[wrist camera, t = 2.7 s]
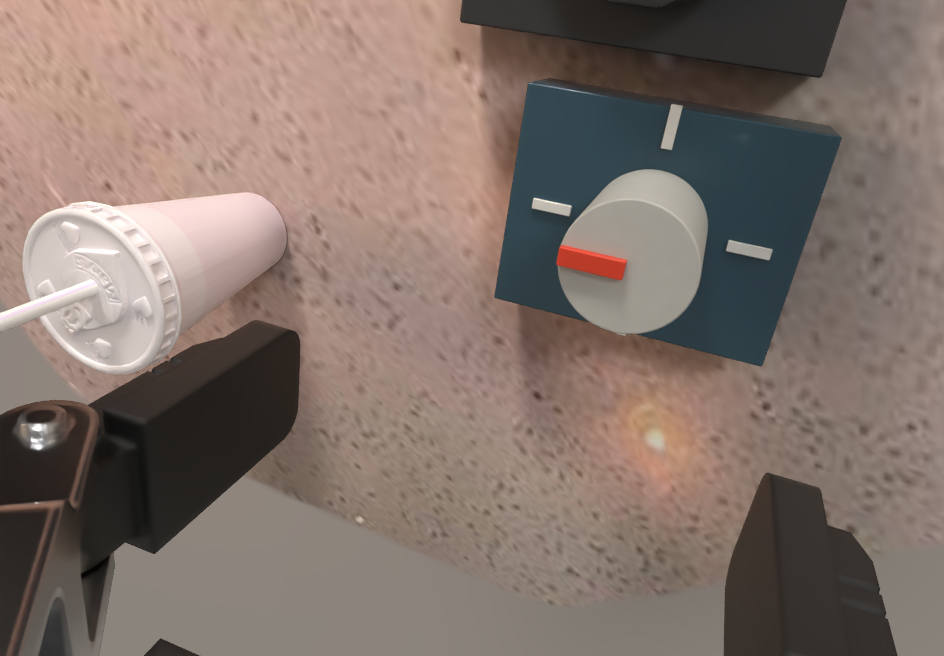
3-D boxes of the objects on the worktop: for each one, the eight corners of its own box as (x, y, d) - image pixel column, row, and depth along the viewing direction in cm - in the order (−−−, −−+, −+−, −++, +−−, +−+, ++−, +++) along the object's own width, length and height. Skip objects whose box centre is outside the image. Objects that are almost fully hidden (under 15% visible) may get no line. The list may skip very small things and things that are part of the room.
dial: (722, 182, 23) (718, 218, 18) (690, 294, 24) (679, 354, 20) (602, 158, 24) (569, 187, 19) (579, 268, 25) (543, 319, 21)
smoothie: (337, 237, 32) (89, 359, 20) (265, 319, 35) (13, 469, 23) (239, 133, 32) (-74, 191, 19) (176, 225, 35) (-128, 326, 23)
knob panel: (832, 123, 24) (844, 133, 21) (759, 338, 27) (761, 371, 24) (549, 75, 26) (526, 79, 24) (515, 277, 30) (492, 302, 27)
